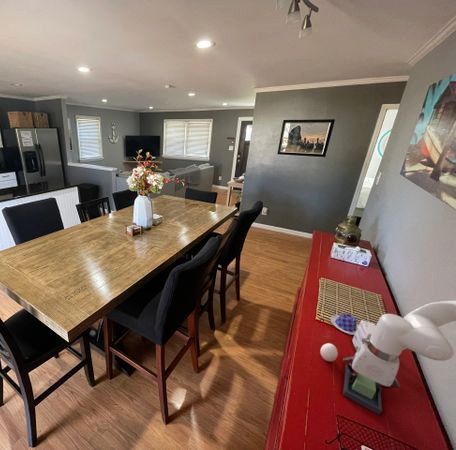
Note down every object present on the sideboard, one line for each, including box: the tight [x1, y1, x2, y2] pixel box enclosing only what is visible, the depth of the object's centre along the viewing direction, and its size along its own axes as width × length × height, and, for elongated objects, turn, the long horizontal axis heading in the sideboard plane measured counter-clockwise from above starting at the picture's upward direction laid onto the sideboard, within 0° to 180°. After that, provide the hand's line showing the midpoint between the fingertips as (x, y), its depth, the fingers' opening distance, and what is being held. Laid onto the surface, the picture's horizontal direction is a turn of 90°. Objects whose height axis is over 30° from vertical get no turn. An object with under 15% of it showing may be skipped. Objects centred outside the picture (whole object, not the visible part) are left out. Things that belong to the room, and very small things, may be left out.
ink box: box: [351, 319, 377, 352], centre depth 98 cm, size 9×5×12 cm, turn 157°
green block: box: [352, 374, 376, 399], centre depth 83 cm, size 5×6×4 cm
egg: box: [319, 342, 339, 362], centre depth 94 cm, size 5×5×8 cm
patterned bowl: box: [330, 312, 359, 336], centre depth 111 cm, size 12×12×5 cm
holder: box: [342, 362, 383, 415], centre depth 86 cm, size 10×18×2 cm, turn 141°
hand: (362, 386), depth 84 cm, fingers closed on green block, 5 cm apart
